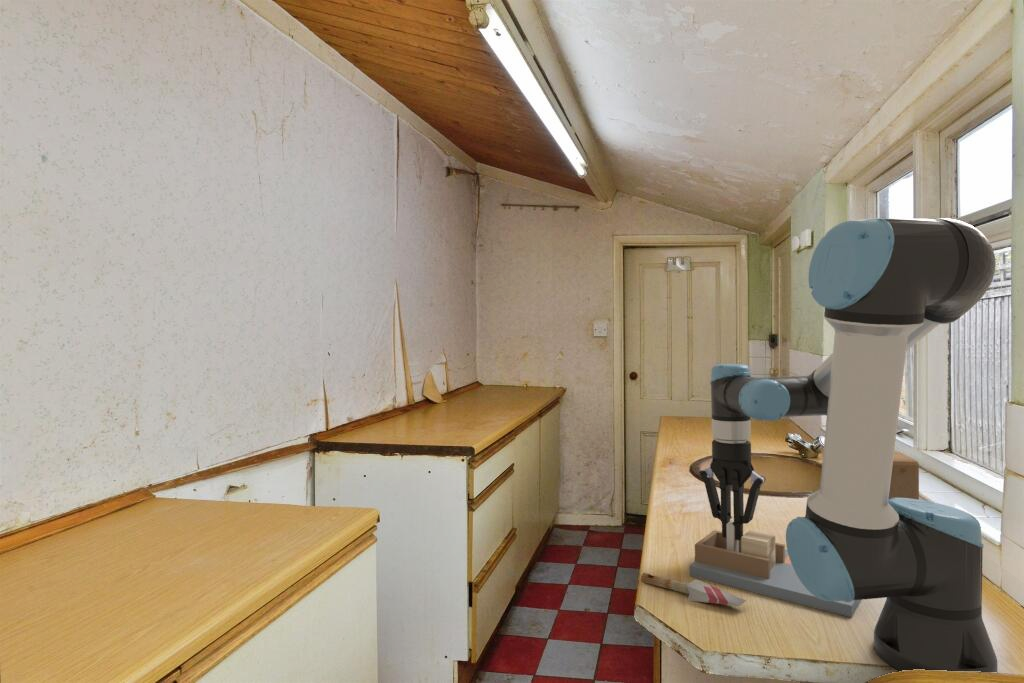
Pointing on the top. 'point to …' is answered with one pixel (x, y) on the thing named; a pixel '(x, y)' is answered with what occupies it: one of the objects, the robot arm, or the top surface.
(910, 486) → the wooden block
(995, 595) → the top surface
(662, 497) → the top surface
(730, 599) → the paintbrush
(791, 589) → the slate deck with cubby
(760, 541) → the maple cube
